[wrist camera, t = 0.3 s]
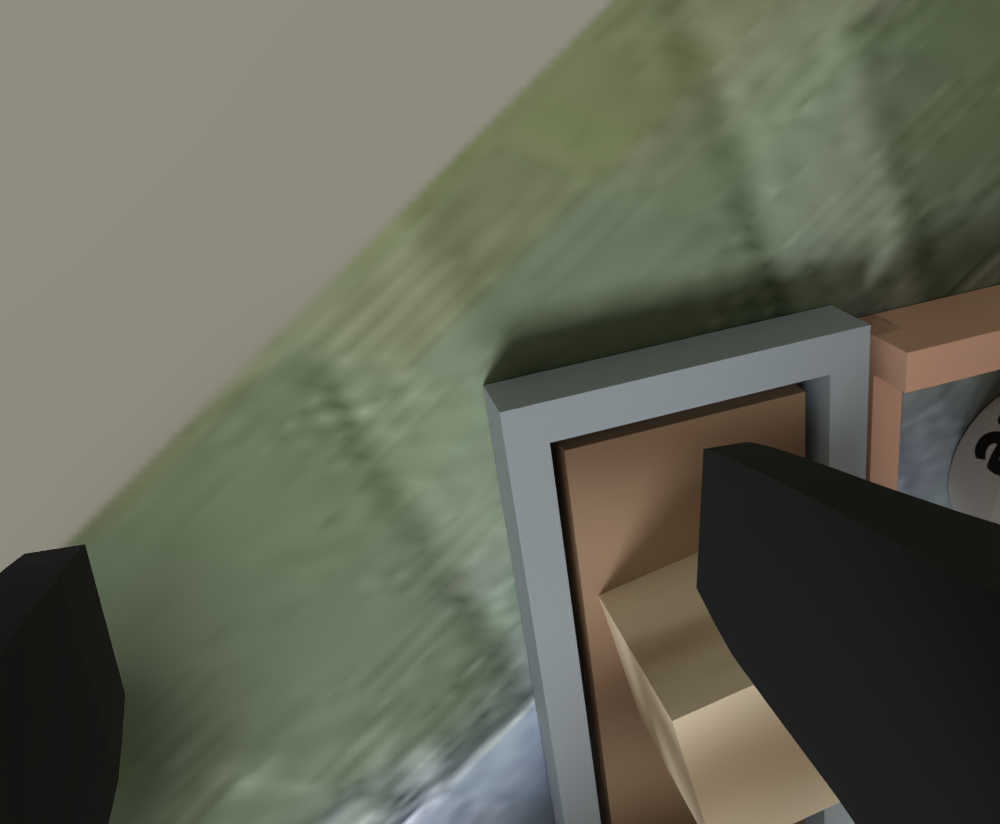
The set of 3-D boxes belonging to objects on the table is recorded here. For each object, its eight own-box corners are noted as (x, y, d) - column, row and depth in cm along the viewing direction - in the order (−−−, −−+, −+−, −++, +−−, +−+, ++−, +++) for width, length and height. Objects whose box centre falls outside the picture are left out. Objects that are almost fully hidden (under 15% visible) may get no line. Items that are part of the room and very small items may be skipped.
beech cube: (791, 654, 25) (894, 777, 21) (641, 721, 25) (716, 859, 21) (762, 524, 23) (869, 632, 19) (598, 595, 23) (672, 721, 19)
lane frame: (1163, 741, 33) (1204, 774, 31) (574, 938, 29) (590, 985, 28) (1286, 199, 24) (1350, 211, 23) (482, 385, 21) (499, 412, 20)
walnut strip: (785, 847, 30) (881, 999, 25) (612, 903, 29) (680, 1072, 24) (779, 373, 23) (913, 466, 18) (549, 429, 22) (628, 542, 17)
